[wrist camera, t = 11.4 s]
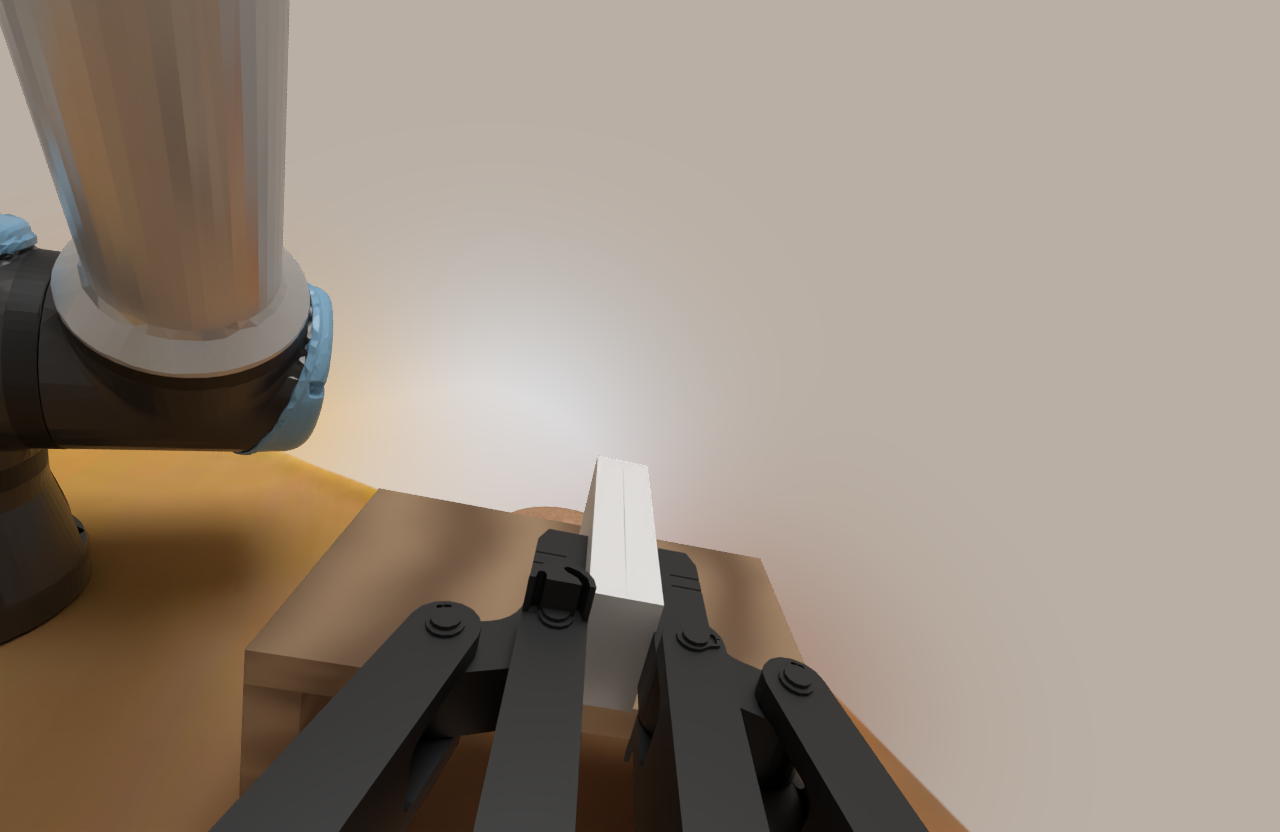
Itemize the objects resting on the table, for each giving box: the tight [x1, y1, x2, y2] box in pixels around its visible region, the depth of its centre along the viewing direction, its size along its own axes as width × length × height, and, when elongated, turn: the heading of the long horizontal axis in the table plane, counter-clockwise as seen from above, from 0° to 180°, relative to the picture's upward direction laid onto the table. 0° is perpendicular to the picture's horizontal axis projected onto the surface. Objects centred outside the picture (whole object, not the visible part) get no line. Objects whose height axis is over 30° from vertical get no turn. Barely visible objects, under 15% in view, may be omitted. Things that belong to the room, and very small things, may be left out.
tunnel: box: [239, 489, 804, 798], centre depth 31 cm, size 22×13×14 cm, turn 92°
